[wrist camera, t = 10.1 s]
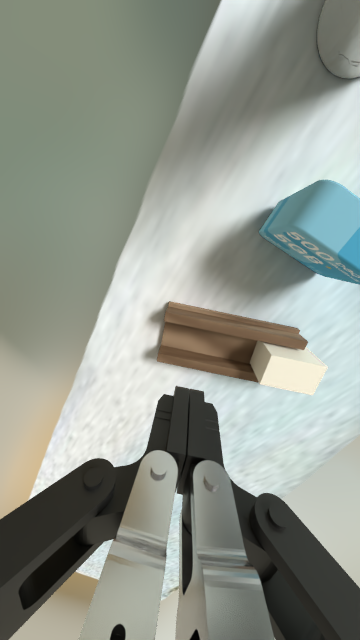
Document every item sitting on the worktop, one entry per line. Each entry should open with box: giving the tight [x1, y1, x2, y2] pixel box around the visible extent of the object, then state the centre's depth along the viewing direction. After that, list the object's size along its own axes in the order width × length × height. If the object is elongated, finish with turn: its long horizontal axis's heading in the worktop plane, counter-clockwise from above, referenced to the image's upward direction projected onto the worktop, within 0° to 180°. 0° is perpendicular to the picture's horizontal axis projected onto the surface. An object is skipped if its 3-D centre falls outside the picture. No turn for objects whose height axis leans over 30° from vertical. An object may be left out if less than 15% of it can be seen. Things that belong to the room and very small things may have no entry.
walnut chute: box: [157, 301, 308, 382], centre depth 34 cm, size 10×22×4 cm, turn 79°
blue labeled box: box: [259, 180, 360, 284], centre depth 24 cm, size 12×4×12 cm, turn 60°
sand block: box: [250, 341, 328, 395], centre depth 32 cm, size 5×8×6 cm, turn 79°
